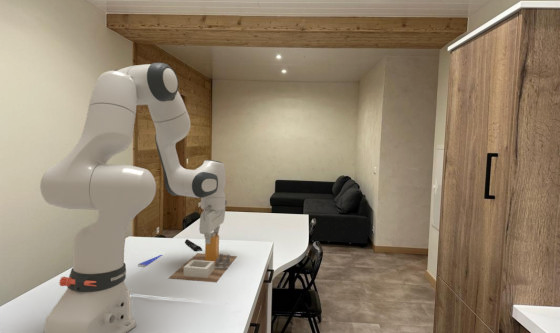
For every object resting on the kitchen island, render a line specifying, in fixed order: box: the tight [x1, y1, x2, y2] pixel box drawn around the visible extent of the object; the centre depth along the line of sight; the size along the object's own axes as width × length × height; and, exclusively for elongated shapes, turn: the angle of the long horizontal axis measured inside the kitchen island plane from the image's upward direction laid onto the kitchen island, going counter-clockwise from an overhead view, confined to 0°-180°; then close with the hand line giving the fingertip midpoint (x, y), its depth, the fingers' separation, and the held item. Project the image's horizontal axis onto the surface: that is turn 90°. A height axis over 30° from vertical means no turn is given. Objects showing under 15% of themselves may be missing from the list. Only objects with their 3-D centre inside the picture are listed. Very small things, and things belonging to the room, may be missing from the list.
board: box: [168, 252, 238, 283], centre depth 131 cm, size 28×16×5 cm, turn 173°
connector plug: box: [204, 231, 220, 262], centre depth 138 cm, size 4×4×10 cm
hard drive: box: [137, 254, 163, 268], centre depth 136 cm, size 2×8×12 cm
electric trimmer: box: [184, 239, 204, 253], centre depth 155 cm, size 4×16×3 cm, turn 32°
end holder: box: [183, 260, 215, 278], centre depth 124 cm, size 8×8×3 cm
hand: (212, 240), depth 138 cm, fingers open, 8 cm apart
